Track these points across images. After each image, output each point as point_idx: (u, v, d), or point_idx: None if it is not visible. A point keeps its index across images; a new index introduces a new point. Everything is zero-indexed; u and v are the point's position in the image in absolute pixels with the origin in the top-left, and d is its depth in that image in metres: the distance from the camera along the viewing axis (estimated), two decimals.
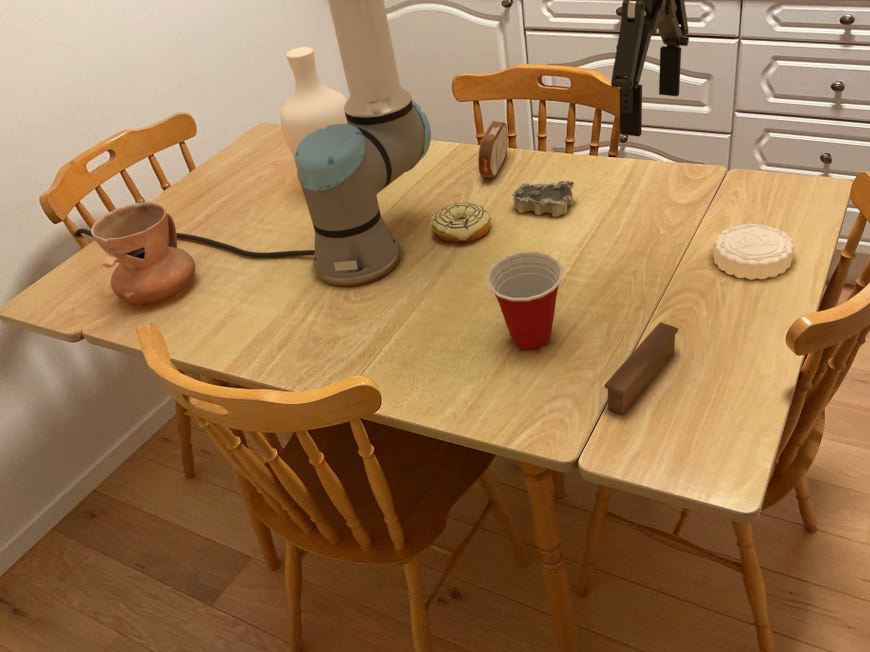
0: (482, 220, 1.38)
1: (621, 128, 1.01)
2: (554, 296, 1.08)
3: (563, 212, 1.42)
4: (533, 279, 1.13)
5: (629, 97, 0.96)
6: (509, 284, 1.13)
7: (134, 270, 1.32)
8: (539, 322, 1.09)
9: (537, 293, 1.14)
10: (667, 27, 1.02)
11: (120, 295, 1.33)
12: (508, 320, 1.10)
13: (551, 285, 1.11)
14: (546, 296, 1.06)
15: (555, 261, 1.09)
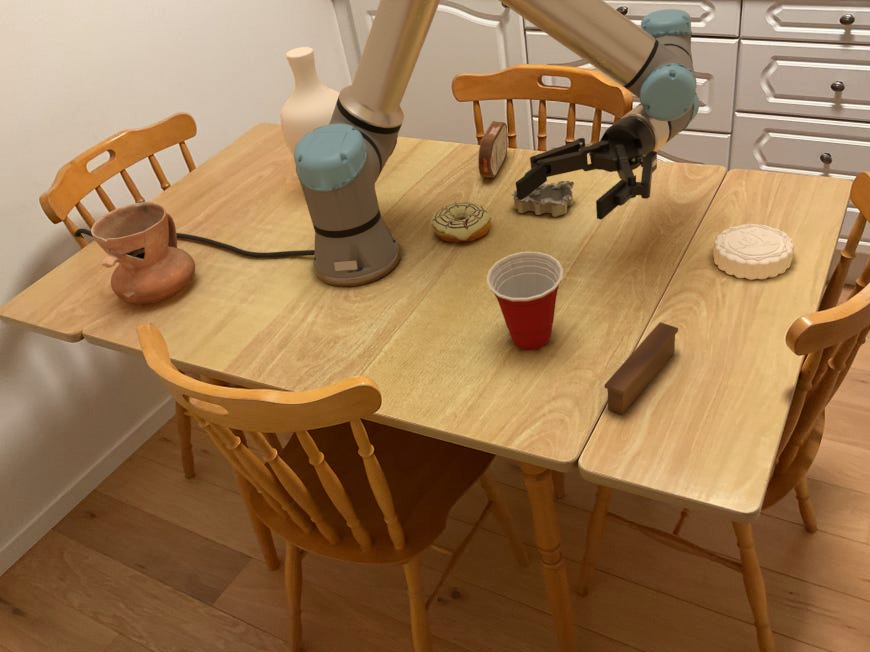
0: (482, 220, 1.38)
1: (604, 200, 1.04)
2: (554, 296, 1.08)
3: (563, 212, 1.42)
4: (533, 279, 1.13)
5: (629, 197, 1.07)
6: (509, 284, 1.13)
7: (134, 270, 1.32)
8: (539, 322, 1.09)
9: (537, 293, 1.14)
10: (568, 166, 1.17)
11: (120, 295, 1.33)
12: (508, 320, 1.10)
13: (551, 285, 1.11)
14: (546, 296, 1.06)
15: (555, 261, 1.09)
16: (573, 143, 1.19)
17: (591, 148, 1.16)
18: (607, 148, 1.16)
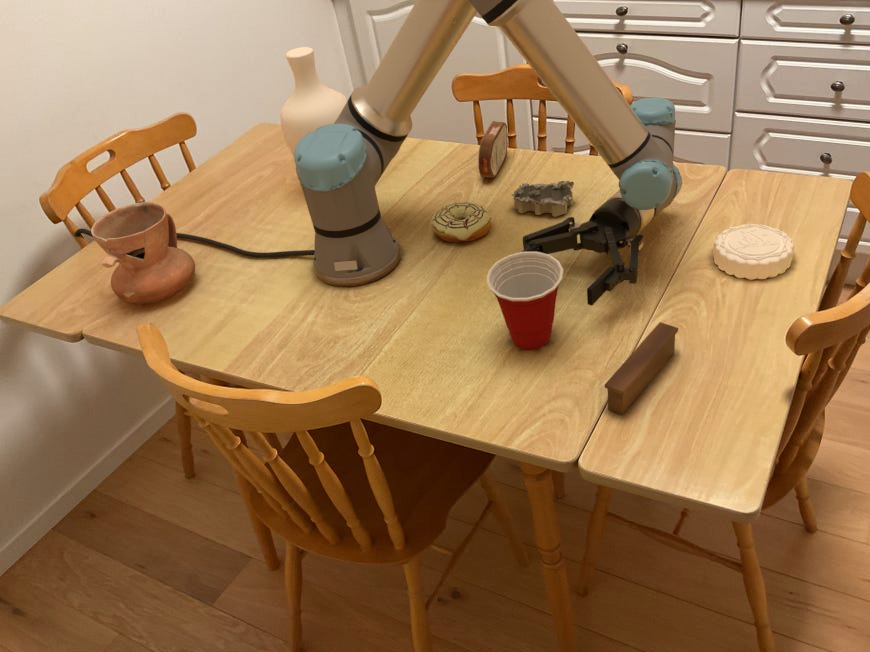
0: (482, 220, 1.38)
1: (594, 288, 1.10)
2: (554, 296, 1.08)
3: (563, 212, 1.42)
4: (533, 279, 1.13)
5: (618, 282, 1.13)
6: (509, 284, 1.13)
7: (134, 270, 1.32)
8: (539, 322, 1.09)
9: (537, 293, 1.14)
10: (559, 246, 1.22)
11: (120, 295, 1.33)
12: (508, 320, 1.10)
13: (551, 285, 1.11)
14: (546, 296, 1.06)
15: (555, 261, 1.09)
16: (563, 222, 1.25)
17: (581, 230, 1.22)
18: (596, 230, 1.22)
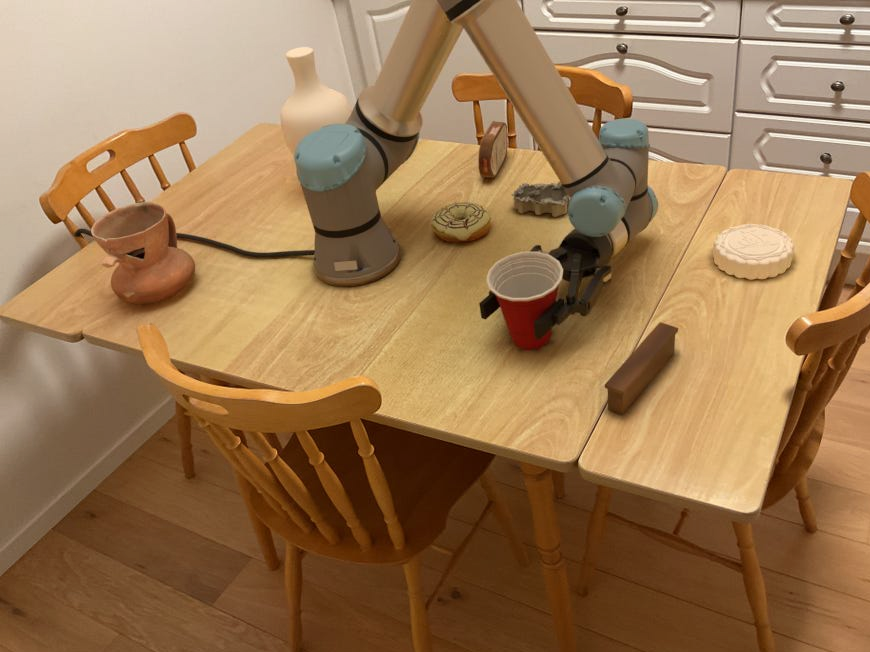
0: (482, 220, 1.38)
1: (541, 322, 1.06)
2: (554, 296, 1.08)
3: (563, 212, 1.42)
4: (533, 279, 1.13)
5: (568, 315, 1.09)
6: (509, 284, 1.13)
7: (134, 270, 1.32)
8: None
9: (537, 293, 1.14)
10: None
11: (120, 295, 1.33)
12: (508, 320, 1.10)
13: (551, 285, 1.11)
14: (546, 296, 1.05)
15: (555, 261, 1.09)
16: None
17: None
18: (566, 256, 1.17)
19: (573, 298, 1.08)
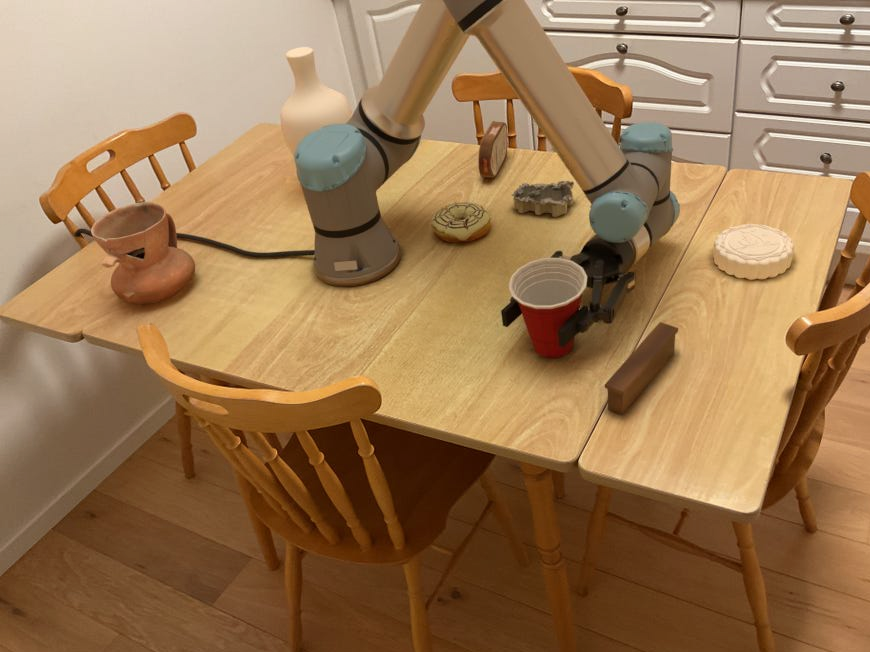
0: (482, 220, 1.38)
1: (565, 330, 1.03)
2: (578, 303, 1.06)
3: (563, 212, 1.42)
4: (555, 286, 1.11)
5: (592, 323, 1.07)
6: (531, 291, 1.11)
7: (134, 270, 1.32)
8: None
9: (559, 300, 1.12)
10: None
11: (120, 295, 1.33)
12: (530, 328, 1.08)
13: (574, 292, 1.09)
14: (570, 304, 1.03)
15: (578, 268, 1.07)
16: None
17: None
18: (588, 262, 1.15)
19: (597, 305, 1.06)
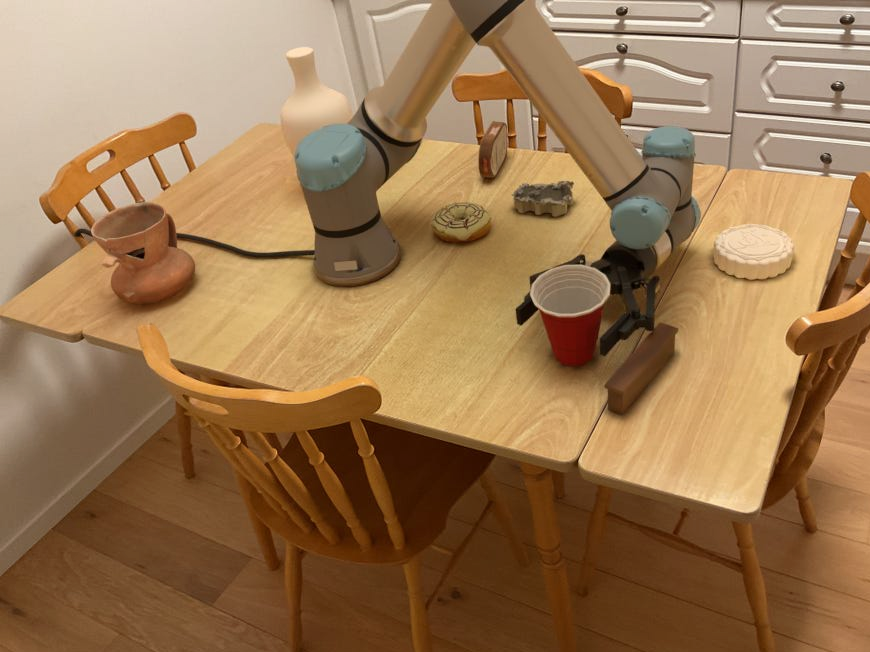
0: (482, 220, 1.38)
1: (607, 338, 1.01)
2: (601, 311, 1.04)
3: (563, 212, 1.42)
4: (577, 293, 1.09)
5: (633, 330, 1.04)
6: (552, 298, 1.09)
7: (134, 270, 1.32)
8: (585, 338, 1.05)
9: (580, 307, 1.10)
10: None
11: (120, 295, 1.33)
12: (552, 336, 1.06)
13: (596, 299, 1.07)
14: (593, 312, 1.02)
15: (601, 275, 1.05)
16: (573, 261, 1.16)
17: None
18: (609, 269, 1.13)
19: (639, 312, 1.04)
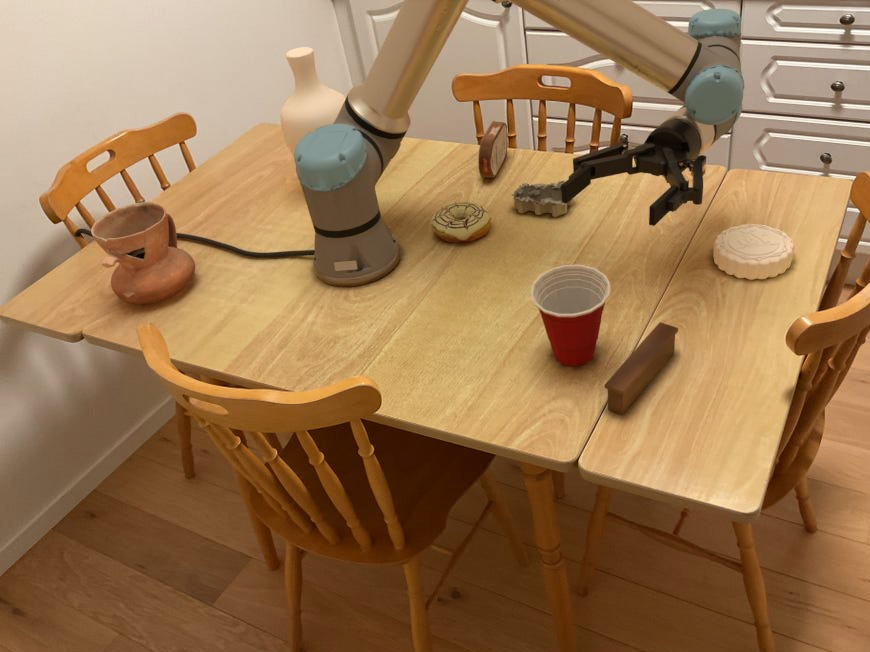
0: (482, 220, 1.38)
1: (657, 206, 1.00)
2: (601, 311, 1.04)
3: (563, 212, 1.42)
4: (577, 293, 1.09)
5: (682, 203, 1.03)
6: (552, 298, 1.09)
7: (134, 270, 1.32)
8: (585, 338, 1.05)
9: (580, 307, 1.10)
10: (613, 169, 1.13)
11: (120, 295, 1.33)
12: (552, 336, 1.06)
13: (596, 299, 1.07)
14: (593, 312, 1.02)
15: (601, 275, 1.05)
16: (617, 145, 1.15)
17: (637, 151, 1.12)
18: (653, 151, 1.12)
19: (688, 184, 1.03)
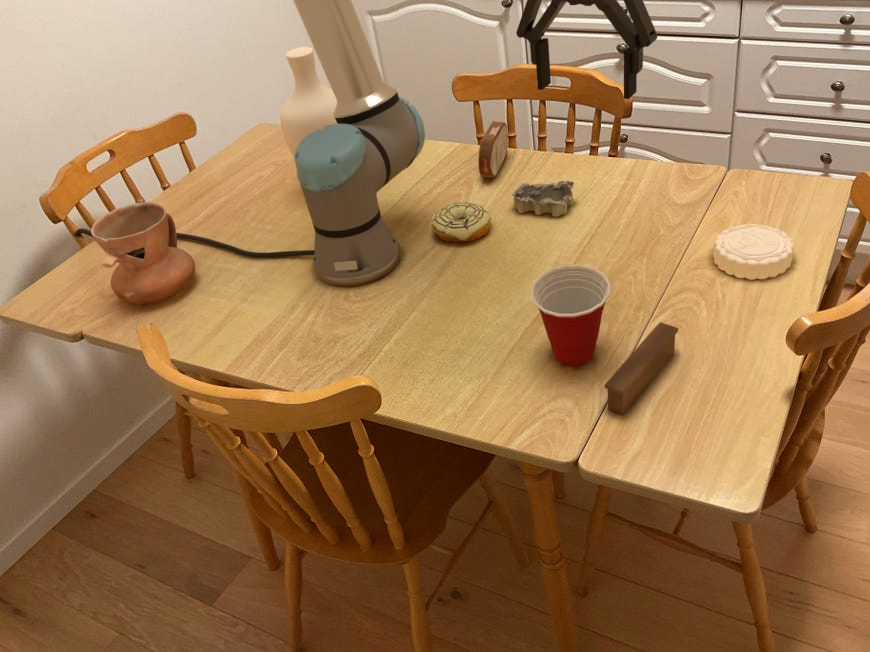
0: (482, 220, 1.38)
1: (629, 92, 1.07)
2: (601, 311, 1.04)
3: (563, 212, 1.42)
4: (577, 293, 1.09)
5: (642, 54, 1.04)
6: (552, 298, 1.09)
7: (134, 270, 1.32)
8: (585, 338, 1.05)
9: (580, 307, 1.10)
10: (554, 17, 1.08)
11: (120, 295, 1.33)
12: (552, 336, 1.06)
13: (596, 299, 1.07)
14: (593, 312, 1.02)
15: (601, 275, 1.05)
16: None
17: None
18: None
19: (636, 46, 1.02)
